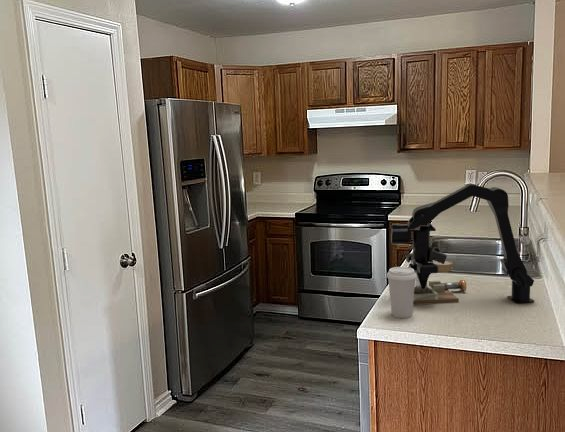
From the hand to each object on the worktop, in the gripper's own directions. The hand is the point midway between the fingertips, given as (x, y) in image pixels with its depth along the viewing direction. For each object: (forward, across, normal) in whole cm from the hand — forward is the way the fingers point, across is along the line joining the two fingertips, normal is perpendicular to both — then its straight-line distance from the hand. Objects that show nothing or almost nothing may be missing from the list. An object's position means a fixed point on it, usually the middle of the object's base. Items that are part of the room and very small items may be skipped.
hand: (421, 286), depth 179 cm
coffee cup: (+5, -14, +11) cm, 18 cm away
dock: (+5, +2, -3) cm, 6 cm away
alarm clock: (+5, +39, -17) cm, 43 cm away
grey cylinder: (+3, 0, 0) cm, 3 cm away
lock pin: (+4, +6, -13) cm, 15 cm away
